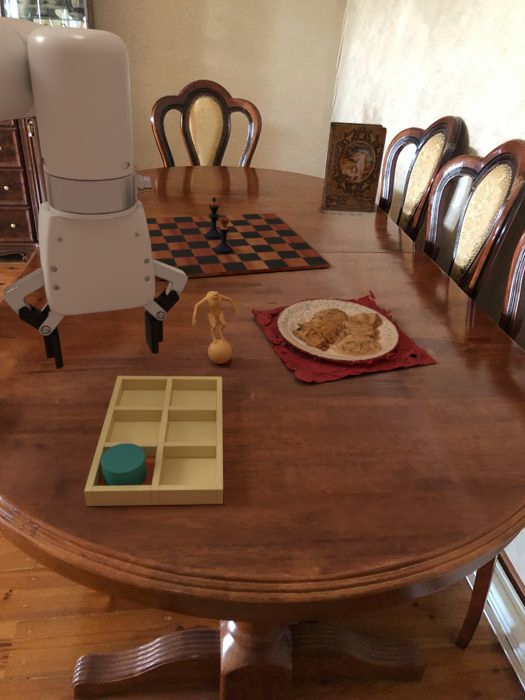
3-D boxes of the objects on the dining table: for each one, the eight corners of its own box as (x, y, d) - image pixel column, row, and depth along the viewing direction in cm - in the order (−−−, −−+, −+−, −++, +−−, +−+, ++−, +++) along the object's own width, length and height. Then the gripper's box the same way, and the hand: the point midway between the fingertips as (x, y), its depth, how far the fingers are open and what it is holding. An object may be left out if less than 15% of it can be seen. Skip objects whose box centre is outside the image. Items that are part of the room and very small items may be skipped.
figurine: (201, 373, 83) (201, 306, 77) (187, 355, 88) (185, 290, 82) (247, 362, 87) (250, 296, 81) (231, 345, 91) (233, 281, 85)
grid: (86, 506, 59) (84, 491, 58) (118, 388, 79) (117, 375, 78) (222, 504, 61) (223, 489, 60) (221, 389, 80) (222, 376, 79)
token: (100, 492, 61) (97, 473, 59) (107, 461, 65) (105, 443, 63) (144, 491, 61) (142, 472, 59) (148, 461, 65) (147, 442, 64)
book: (322, 210, 165) (332, 124, 152) (319, 205, 169) (329, 121, 156) (373, 212, 166) (387, 127, 153) (370, 207, 170) (383, 124, 157)
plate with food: (250, 318, 101) (250, 302, 99) (367, 301, 109) (370, 286, 107) (298, 389, 82) (300, 371, 80) (436, 363, 90) (441, 346, 88)
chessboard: (136, 222, 144) (133, 181, 139) (273, 216, 156) (276, 178, 150) (158, 281, 112) (156, 231, 107) (328, 268, 124) (334, 222, 118)
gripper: (175, 177, 53) (177, 326, 61) (-17, 182, 46) (16, 348, 55) (198, 199, 47) (196, 360, 56) (-18, 208, 40) (19, 389, 49)
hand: (106, 354), depth 55 cm, fingers open, 9 cm apart
